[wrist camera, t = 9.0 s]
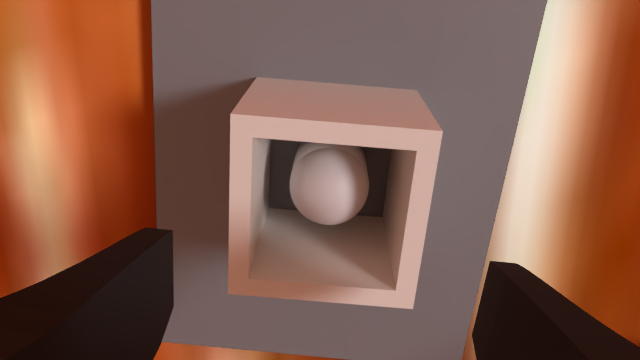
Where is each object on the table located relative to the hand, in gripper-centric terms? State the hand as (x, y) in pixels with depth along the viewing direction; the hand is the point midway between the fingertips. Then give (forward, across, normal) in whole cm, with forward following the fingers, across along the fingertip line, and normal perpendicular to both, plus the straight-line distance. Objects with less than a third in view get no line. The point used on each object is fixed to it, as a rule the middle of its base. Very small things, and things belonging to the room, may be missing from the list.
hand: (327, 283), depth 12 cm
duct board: (+9, 0, 0) cm, 9 cm away
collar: (+8, 0, 0) cm, 8 cm away
